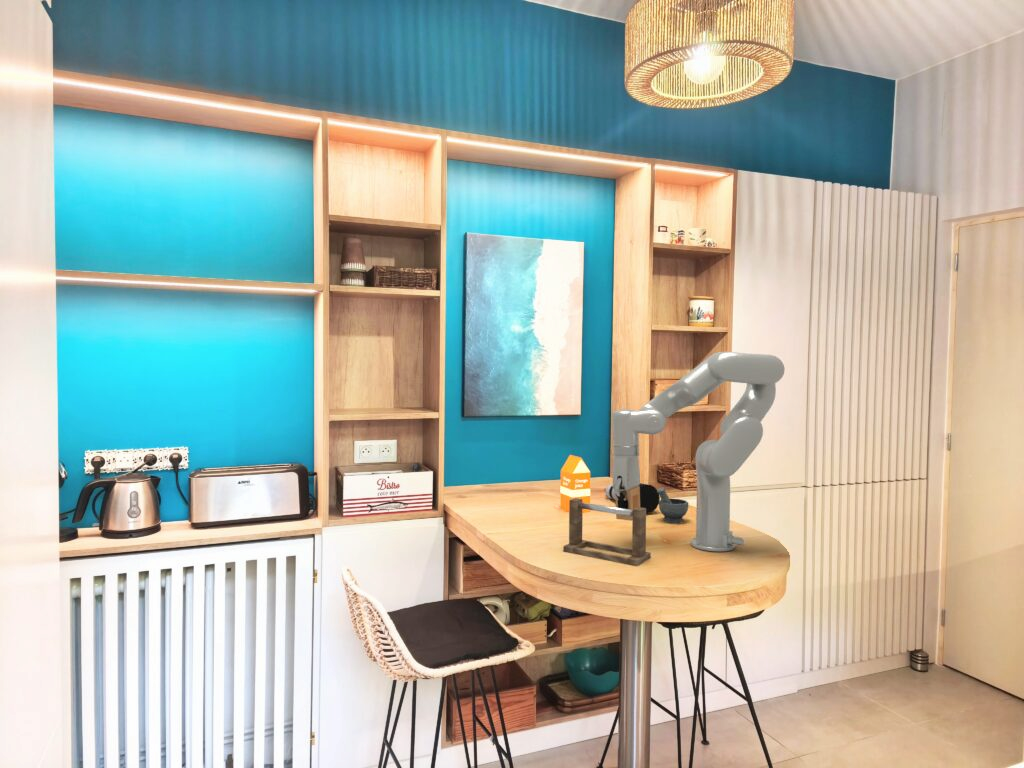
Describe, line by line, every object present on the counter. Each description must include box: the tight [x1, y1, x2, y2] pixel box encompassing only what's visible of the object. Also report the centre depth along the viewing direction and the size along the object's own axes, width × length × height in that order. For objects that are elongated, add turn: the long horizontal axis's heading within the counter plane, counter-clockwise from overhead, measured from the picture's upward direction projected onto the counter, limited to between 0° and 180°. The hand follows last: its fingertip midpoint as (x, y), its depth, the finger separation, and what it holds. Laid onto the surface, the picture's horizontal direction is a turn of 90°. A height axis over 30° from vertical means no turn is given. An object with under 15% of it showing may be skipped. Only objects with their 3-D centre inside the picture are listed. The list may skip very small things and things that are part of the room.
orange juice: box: [559, 454, 591, 514], centre depth 240 cm, size 8×9×20 cm
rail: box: [578, 502, 633, 517], centre depth 186 cm, size 21×2×2 cm, turn 55°
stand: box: [562, 498, 652, 567], centre depth 186 cm, size 23×9×14 cm, turn 55°
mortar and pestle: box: [657, 486, 689, 525], centre depth 224 cm, size 11×9×12 cm
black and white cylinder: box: [603, 482, 661, 514], centre depth 250 cm, size 10×34×10 cm, turn 14°
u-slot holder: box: [615, 486, 640, 522], centre depth 196 cm, size 5×6×9 cm
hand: (628, 510), depth 196 cm, fingers closed on u-slot holder, 6 cm apart
